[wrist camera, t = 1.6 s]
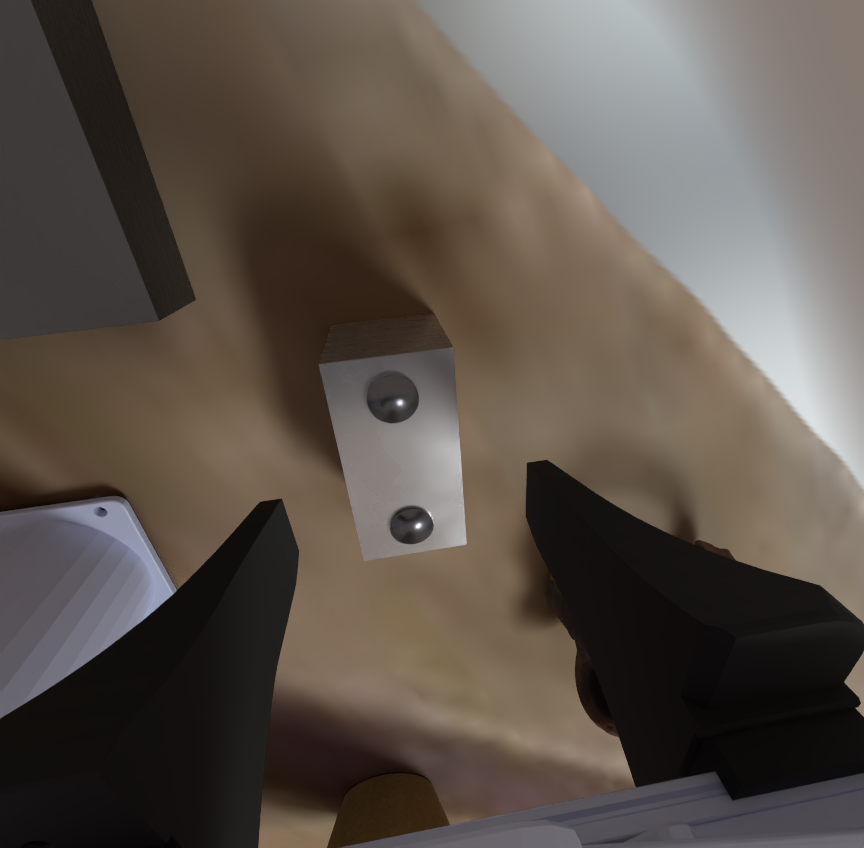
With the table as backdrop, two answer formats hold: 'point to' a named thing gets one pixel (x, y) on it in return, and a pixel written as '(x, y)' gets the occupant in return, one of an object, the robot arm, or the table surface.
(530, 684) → the table surface
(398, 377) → the block
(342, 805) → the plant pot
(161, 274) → the stand
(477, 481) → the table surface
